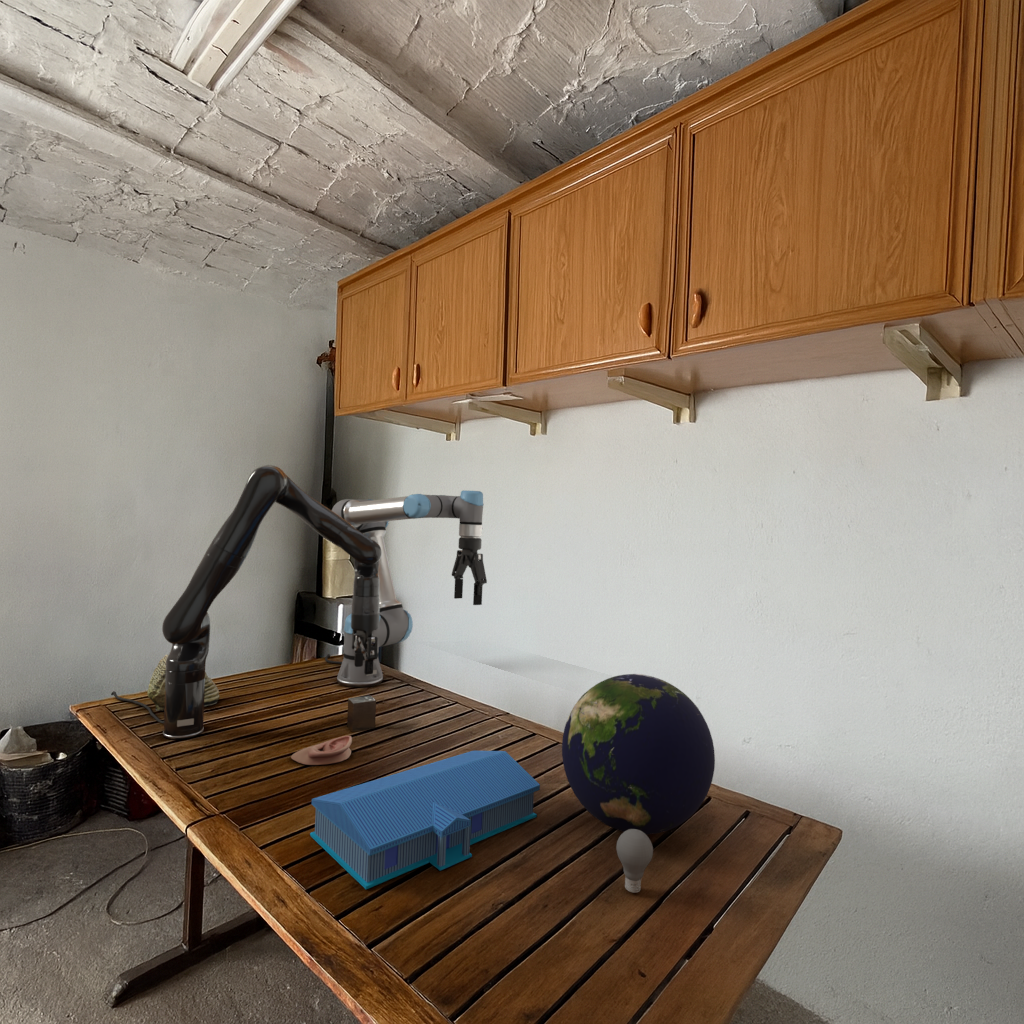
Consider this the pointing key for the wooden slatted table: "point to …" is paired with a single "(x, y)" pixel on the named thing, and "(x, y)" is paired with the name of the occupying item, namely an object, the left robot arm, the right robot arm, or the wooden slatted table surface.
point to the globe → (638, 754)
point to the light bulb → (634, 857)
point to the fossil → (158, 687)
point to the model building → (423, 815)
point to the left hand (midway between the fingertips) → (363, 670)
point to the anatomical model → (325, 752)
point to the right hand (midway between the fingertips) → (467, 601)
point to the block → (361, 713)
